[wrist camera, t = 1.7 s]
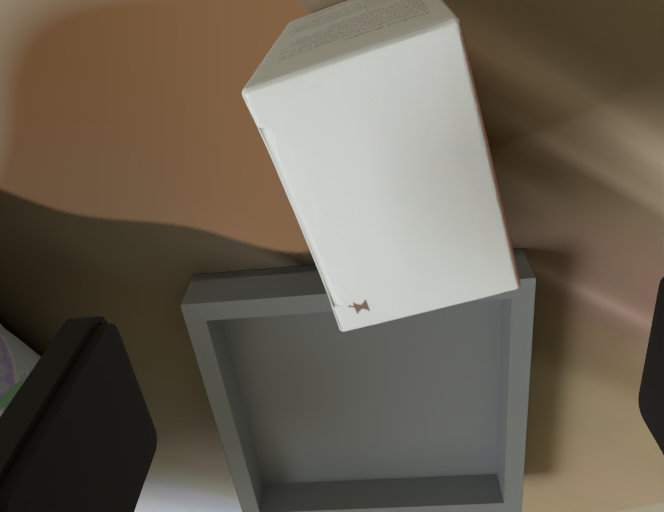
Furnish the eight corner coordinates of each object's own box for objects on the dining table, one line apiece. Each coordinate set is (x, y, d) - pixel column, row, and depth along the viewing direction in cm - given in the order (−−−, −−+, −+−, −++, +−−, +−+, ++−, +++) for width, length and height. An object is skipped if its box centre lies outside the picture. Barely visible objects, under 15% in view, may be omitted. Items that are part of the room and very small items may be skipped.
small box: (469, 160, 26) (526, 296, 17) (347, 195, 27) (341, 341, 18) (423, -32, 22) (466, 12, 13) (284, 18, 23) (236, 90, 14)
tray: (522, 248, 28) (536, 277, 26) (511, 476, 36) (521, 513, 34) (193, 274, 30) (180, 304, 28) (253, 487, 38) (246, 524, 36)
